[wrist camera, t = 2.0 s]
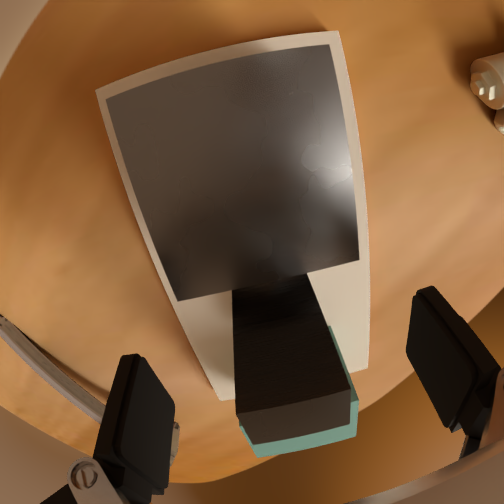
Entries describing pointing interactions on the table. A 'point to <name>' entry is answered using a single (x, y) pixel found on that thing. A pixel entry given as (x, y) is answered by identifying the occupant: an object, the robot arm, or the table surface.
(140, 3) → the table surface
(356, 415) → the socket block
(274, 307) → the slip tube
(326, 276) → the base board
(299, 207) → the dark grey block
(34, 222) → the table surface
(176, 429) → the caliper
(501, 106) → the pipe fitting
